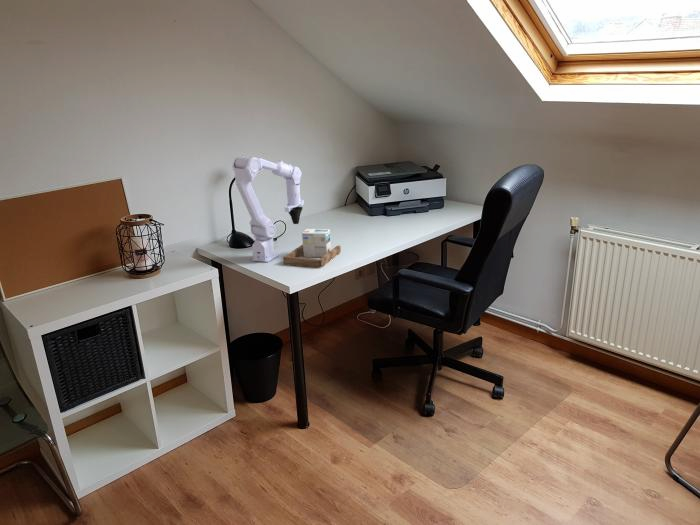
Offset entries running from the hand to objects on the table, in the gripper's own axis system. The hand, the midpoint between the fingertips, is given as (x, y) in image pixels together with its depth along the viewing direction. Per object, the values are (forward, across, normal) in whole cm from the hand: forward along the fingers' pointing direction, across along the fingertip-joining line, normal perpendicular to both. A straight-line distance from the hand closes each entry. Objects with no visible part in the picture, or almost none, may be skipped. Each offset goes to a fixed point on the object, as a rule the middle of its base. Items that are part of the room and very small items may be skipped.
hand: (296, 223), depth 257 cm
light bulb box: (+11, -9, -14) cm, 20 cm away
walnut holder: (+10, -13, -14) cm, 22 cm away
